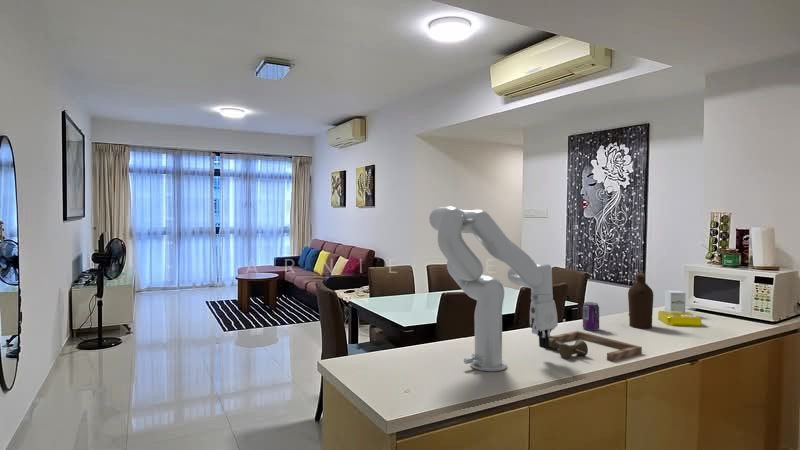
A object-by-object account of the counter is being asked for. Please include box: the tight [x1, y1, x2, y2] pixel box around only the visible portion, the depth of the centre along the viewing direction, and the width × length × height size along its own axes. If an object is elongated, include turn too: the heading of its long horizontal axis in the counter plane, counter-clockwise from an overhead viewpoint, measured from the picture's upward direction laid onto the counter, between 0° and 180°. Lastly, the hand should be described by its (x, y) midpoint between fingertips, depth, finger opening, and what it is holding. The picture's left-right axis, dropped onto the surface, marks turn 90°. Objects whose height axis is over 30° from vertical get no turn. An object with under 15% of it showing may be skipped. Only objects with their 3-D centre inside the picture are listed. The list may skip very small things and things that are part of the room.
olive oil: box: [627, 272, 654, 330], centre depth 215 cm, size 11×11×25 cm
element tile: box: [657, 310, 702, 328], centre depth 222 cm, size 15×15×5 cm
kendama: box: [548, 335, 589, 360], centre depth 174 cm, size 6×10×20 cm
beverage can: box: [582, 301, 600, 331], centre depth 211 cm, size 7×7×12 cm
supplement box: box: [664, 289, 687, 312], centre depth 239 cm, size 7×7×13 cm
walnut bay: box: [551, 330, 643, 362], centre depth 181 cm, size 18×29×2 cm, turn 30°
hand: (544, 347), depth 167 cm, fingers closed
